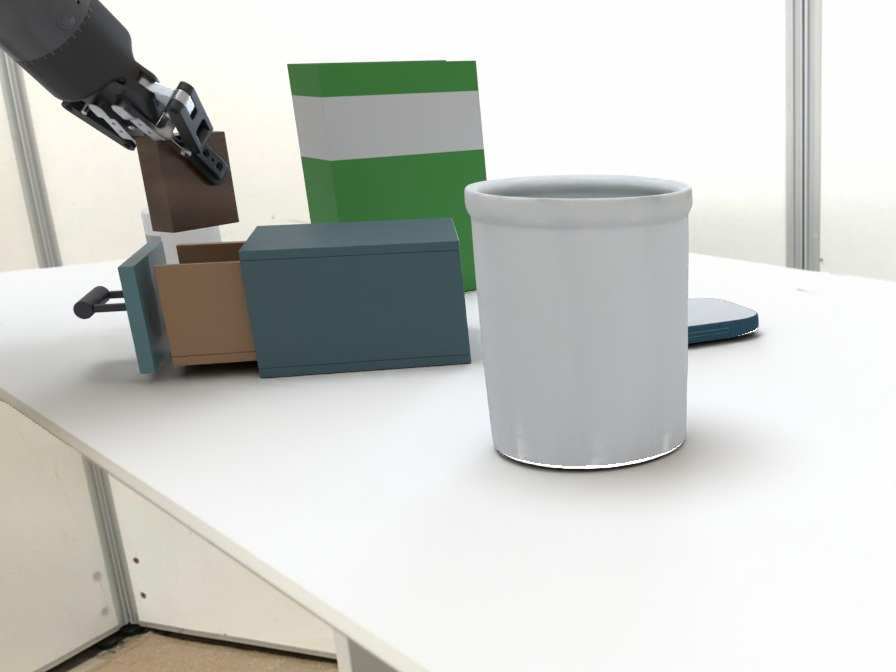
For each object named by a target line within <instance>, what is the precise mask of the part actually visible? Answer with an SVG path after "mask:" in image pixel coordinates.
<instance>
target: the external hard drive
mask: <svg viewBox="0 0 896 672" xmlns="http://www.w3.org/2000/svg"><path fill="white" fill-rule="evenodd" d="M759 322H760V320H759V314H758V312H757V311H756V310H754V309H751V308H750V307H749V308H748V307H746V306H743V305H740V304H738V303H734V302H732V301H729V300H725V299H721V298H714V297H692V298H688V345H689V344H694V343H703V342H709V341H716V340H724V339H731V337H732V338H736V337H735V336H738V335H742V334H745V333H748V332H750V331H753V330H755V329H756V328H757V327H758V328H759V325H760V323H759ZM738 337H739V336H738Z"/></svg>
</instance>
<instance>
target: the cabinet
mask: <svg viewBox="0 0 896 672" xmlns="http://www.w3.org/2000/svg"><path fill="white" fill-rule="evenodd" d="M245 241H246V242H245V243H244V244H243V246H242V247H241V248H240V250H239V251H238V253H239V259H240V265H241V271H242V276H243V282H244V288H245V294H246V299H247V305H248V311H249V317H250V322H251V328H252V334H253V340H254V346H255V351H256V357H257V361H256V362H257V368H258V373H259V378H260V379H267V378H279V377H280V378H281V377H294V376H295V377H296V376H309V375H311V376H312V375H323V374H336V373H338V374H339V373H348V372H349V373H351V372H353V373H354V372H365V371H379V370H393V369H394V370H395V369H408V368H409V369H410V368H421V367H422V368H423V367H436V366H437V367H438V366H449V365H463V364H471V363H472V356H471V355H472V354H471V344H470V336H469V325H468V315H467V314H468V313H467V305H466V297H465V291H464V285H463V275H462V265H461V255H460V245H459V239H458V236H457V233H456V229H455V226H454V223H453V220H452V218H451V217H450V218H427V219H404V220H382V221H359V222H336V223H313V224H311V223H291V224H270V225H269V224H268V225H267V224H266V225H256V227H255V228H254V229H253V231H252V232H251V233H250V235H249V236H248V238H247V239H246V240H245Z"/></svg>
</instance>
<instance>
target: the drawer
mask: <svg viewBox="0 0 896 672" xmlns="http://www.w3.org/2000/svg"><path fill="white" fill-rule="evenodd" d="M245 242H246V240H235V241H222V242H210V243H189V244H177V245H176V249H177V254H178V259H179V264H168V265H167V263H166V258H165V253H164V248H163V243H162V241H157V242H148V243H147V242H146V243H145V244H144V245H142V246H141V247H140V248H139V249H138V250H137V251H136V252H134V253H133V254H132V255H131V256H129V257H128V258H127V259H126V260H125V261H124V262H122V263H121V264H120V265H118V266H117V272H118V277H119V282H120V286H121V290H118V289H117V290H110V289H108V288H107V287H105V286H103V285H97V286H94V287H93V288H92V289H91V290H90V291H89V292H87V293H86V294H85V295H84V296H83V297H81V298H80V299H79V300H78V301H77V302H75V303H74V304H73V308H72V312H73V314H74V315H75V316H76V317H77V318H78V319H81V320H87V319H91V318H92V316H94V315H95V314H98V313H115V312H126V313H127V319H128V323H129V324H128V325H129V328H130V332H131V337H132V341H133V342H132V343H133V347H134V352H135V357H136V360H137V365H138V370H139V374H140V375H149V374H150V375H151V374H156V373H157V372H158V370H159V369H160V368H161V366H162V365H163V363H164V362H165V361H166V359H167V358H168V357H169V355H170V356H171V362H172V366H173V367H184V366H198V365H199V366H200V365H214V364H227V363H229V364H230V363H244V362H257V357H256V351H255V346H254V340H253V334H252V328H251V322H250V317H249V311H248V305H247V299H246V294H245V288H244V282H243V276H242V271H241V265H240V259H239V253H238V251H239V250H240V248H241V247H242V246H243V244H244V243H245ZM114 299H124V302H115V303H114V302H113V303H108V302H109V301H110V300H114Z"/></svg>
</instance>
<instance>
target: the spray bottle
mask: <svg viewBox="0 0 896 672" xmlns="http://www.w3.org/2000/svg"><path fill="white" fill-rule="evenodd" d="M140 216H141V221H142V226H143V231H144V235H145V242H146V243H148V242H157V241H162V243H163V248H164V253H165V258H166V263H167V265H168V264H179V259H178V254H177V249H176V245H177V244H189V243H210V242H223V239H222V234H221V233H222V232H221V228H220V227H221V226H220V225H219V226H213V227H207V228H201V229H195V230H189V231H183V232H177V233H168V232H157V231H153V230H152V224H151V219H150V214H149V209H148V205H146V206H145V207H143V209H142V210H141V211H140Z"/></svg>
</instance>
